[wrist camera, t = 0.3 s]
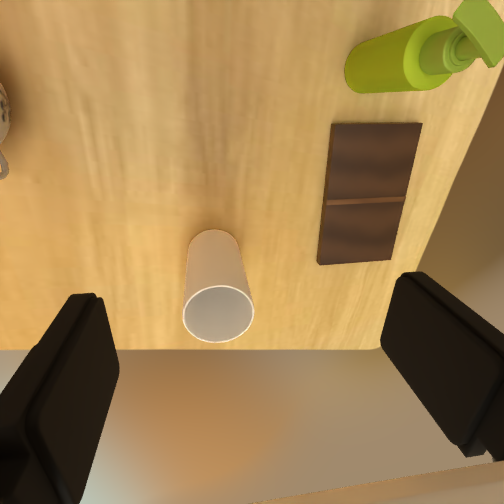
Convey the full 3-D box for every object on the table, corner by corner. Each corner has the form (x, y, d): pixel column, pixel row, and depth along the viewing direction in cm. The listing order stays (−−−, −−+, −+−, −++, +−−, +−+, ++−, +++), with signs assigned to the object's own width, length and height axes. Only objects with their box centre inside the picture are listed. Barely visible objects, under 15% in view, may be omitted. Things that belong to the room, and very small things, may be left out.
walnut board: (331, 123, 42) (335, 124, 41) (416, 122, 44) (423, 123, 42) (316, 261, 52) (319, 265, 51) (386, 256, 54) (391, 260, 52)
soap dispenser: (360, 23, 37) (504, -46, 20) (395, 62, 40) (550, 32, 22) (329, 67, 39) (436, 40, 21) (365, 102, 42) (486, 104, 24)
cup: (246, 238, 48) (265, 295, 34) (228, 280, 51) (239, 348, 37) (197, 222, 46) (195, 276, 31) (181, 267, 49) (173, 335, 34)
